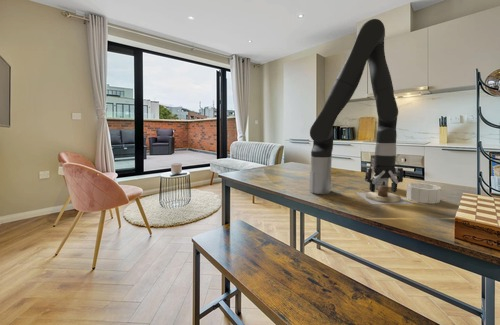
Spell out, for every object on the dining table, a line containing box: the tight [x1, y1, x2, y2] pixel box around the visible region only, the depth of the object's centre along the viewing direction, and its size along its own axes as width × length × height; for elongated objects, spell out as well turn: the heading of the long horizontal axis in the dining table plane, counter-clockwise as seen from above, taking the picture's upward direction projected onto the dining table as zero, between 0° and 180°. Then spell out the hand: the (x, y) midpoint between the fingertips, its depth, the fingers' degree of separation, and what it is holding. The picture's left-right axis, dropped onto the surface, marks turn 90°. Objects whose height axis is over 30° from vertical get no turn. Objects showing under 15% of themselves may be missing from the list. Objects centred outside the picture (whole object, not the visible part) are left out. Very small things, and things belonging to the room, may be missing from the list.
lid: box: [365, 185, 402, 203], centre depth 98 cm, size 13×13×5 cm
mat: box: [355, 192, 415, 205], centre depth 98 cm, size 16×16×1 cm
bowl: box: [405, 182, 442, 204], centre depth 95 cm, size 11×11×6 cm
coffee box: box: [368, 154, 390, 190], centre depth 115 cm, size 9×6×16 cm
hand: (382, 191), depth 98 cm, fingers open, 8 cm apart
